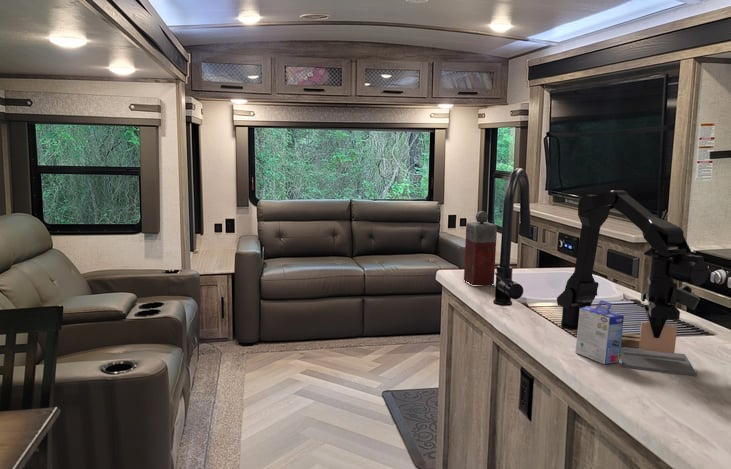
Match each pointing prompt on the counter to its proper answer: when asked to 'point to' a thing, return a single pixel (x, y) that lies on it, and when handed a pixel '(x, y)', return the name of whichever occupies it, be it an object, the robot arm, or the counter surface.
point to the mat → (656, 361)
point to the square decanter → (480, 251)
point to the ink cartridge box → (599, 333)
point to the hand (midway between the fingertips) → (656, 337)
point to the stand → (630, 340)
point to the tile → (658, 344)
